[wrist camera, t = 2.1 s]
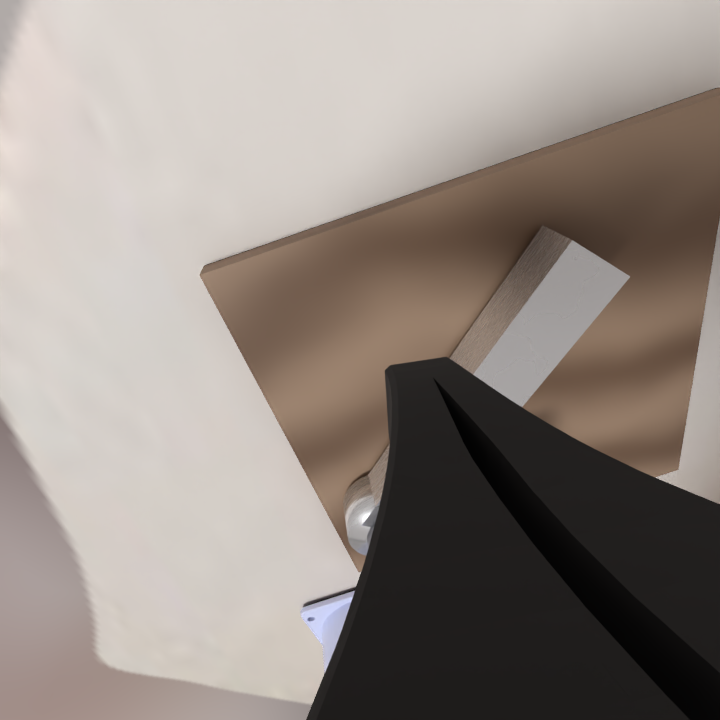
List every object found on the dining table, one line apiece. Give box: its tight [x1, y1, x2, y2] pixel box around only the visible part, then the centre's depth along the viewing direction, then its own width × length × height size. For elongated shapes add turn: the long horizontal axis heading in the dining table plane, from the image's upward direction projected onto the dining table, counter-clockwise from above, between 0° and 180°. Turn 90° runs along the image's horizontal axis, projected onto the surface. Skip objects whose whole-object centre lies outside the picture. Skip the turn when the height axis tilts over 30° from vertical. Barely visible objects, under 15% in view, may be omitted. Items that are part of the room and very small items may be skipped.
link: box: [343, 225, 630, 556], centre depth 19 cm, size 17×4×2 cm, turn 152°
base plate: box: [200, 88, 720, 572], centre depth 21 cm, size 20×20×1 cm
